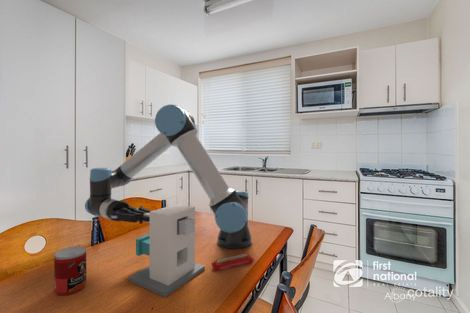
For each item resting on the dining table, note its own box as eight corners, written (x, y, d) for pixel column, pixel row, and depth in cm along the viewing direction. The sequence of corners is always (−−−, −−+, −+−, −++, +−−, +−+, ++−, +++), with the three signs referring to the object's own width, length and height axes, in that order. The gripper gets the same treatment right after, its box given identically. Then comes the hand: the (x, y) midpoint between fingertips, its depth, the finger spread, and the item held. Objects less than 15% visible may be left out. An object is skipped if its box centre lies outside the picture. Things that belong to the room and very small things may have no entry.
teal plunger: (135, 255, 82) (135, 238, 81) (149, 249, 87) (149, 233, 86) (164, 265, 75) (164, 247, 75) (176, 258, 80) (177, 241, 80)
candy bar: (214, 273, 80) (214, 264, 80) (210, 268, 83) (210, 259, 83) (254, 263, 87) (255, 255, 87) (249, 259, 91) (249, 251, 90)
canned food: (71, 297, 65) (70, 258, 65) (47, 294, 67) (46, 255, 67) (92, 282, 73) (92, 247, 73) (71, 279, 75) (70, 244, 74)
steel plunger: (152, 230, 77) (152, 213, 77) (165, 225, 82) (165, 209, 82) (184, 239, 70) (184, 220, 70) (196, 233, 75) (196, 215, 75)
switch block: (128, 280, 74) (128, 211, 73) (170, 258, 90) (170, 200, 89) (165, 297, 66) (165, 219, 65) (204, 269, 82) (205, 206, 81)
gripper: (130, 215, 97) (172, 225, 85) (98, 224, 86) (142, 237, 74) (130, 197, 97) (172, 205, 85) (98, 203, 86) (142, 213, 74)
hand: (158, 220), depth 80 cm, fingers closed
